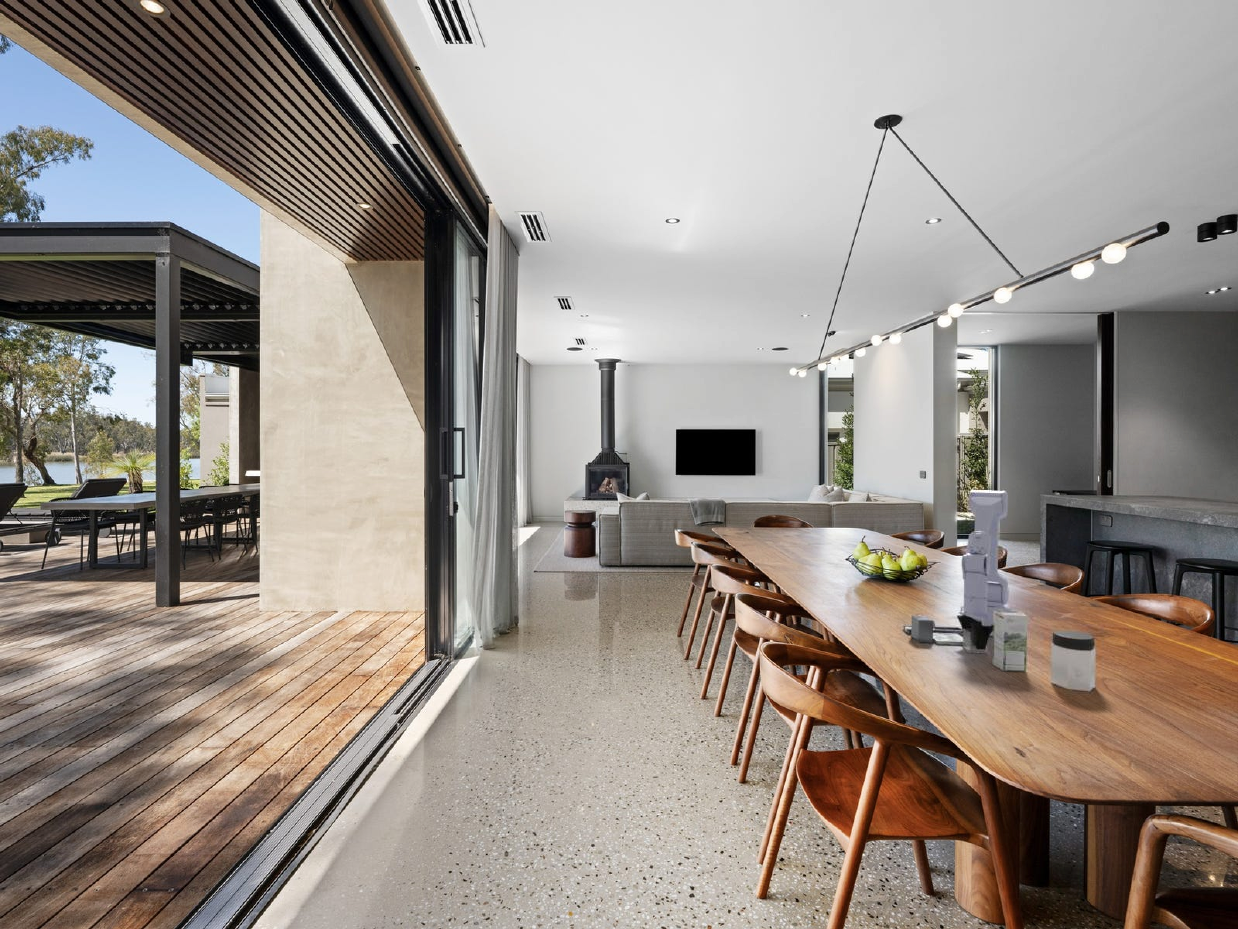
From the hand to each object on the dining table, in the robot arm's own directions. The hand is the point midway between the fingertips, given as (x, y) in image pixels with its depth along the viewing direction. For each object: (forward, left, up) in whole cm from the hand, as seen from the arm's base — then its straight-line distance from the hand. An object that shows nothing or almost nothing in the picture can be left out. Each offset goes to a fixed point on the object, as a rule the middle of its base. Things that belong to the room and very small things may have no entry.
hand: (974, 645), depth 179 cm
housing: (0, 0, -2) cm, 2 cm away
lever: (+9, -17, -1) cm, 19 cm away
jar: (-11, +26, -2) cm, 28 cm away
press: (+5, -12, -1) cm, 13 cm away
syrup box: (-2, +15, -2) cm, 15 cm away
